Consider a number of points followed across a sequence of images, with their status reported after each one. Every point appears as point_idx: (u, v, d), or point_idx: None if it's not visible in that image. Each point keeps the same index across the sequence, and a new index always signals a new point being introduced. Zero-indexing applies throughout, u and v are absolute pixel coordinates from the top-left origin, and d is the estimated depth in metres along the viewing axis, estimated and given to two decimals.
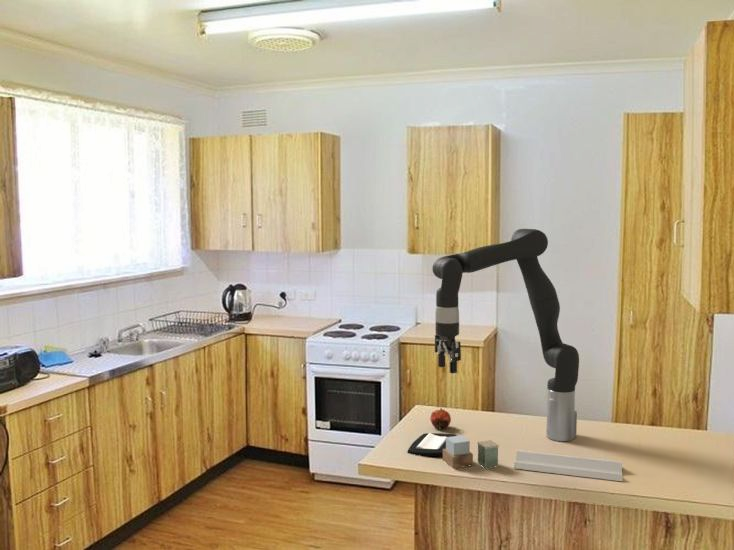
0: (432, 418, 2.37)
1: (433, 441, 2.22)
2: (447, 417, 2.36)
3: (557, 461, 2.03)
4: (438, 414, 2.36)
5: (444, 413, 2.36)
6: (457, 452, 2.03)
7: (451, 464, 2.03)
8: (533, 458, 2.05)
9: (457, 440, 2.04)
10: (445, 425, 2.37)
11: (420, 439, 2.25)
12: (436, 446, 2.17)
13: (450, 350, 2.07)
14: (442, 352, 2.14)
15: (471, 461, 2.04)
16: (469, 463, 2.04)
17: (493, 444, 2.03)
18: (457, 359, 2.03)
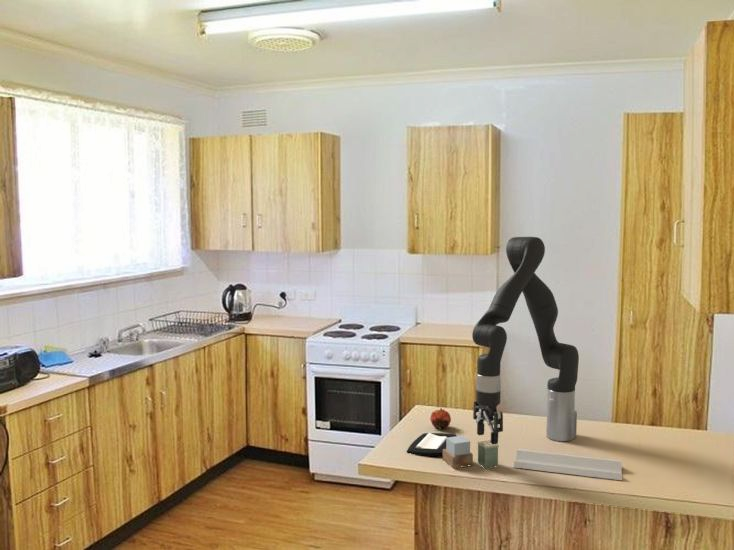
0: (432, 418, 2.37)
1: (433, 441, 2.22)
2: (447, 417, 2.36)
3: (557, 460, 2.04)
4: (438, 414, 2.36)
5: (444, 413, 2.36)
6: (458, 452, 2.03)
7: (451, 464, 2.03)
8: (533, 457, 2.06)
9: (457, 441, 2.04)
10: (445, 425, 2.37)
11: (420, 439, 2.25)
12: (435, 446, 2.17)
13: (491, 420, 2.00)
14: (481, 420, 2.07)
15: (471, 461, 2.04)
16: (469, 463, 2.04)
17: (494, 444, 2.03)
18: (499, 430, 1.96)
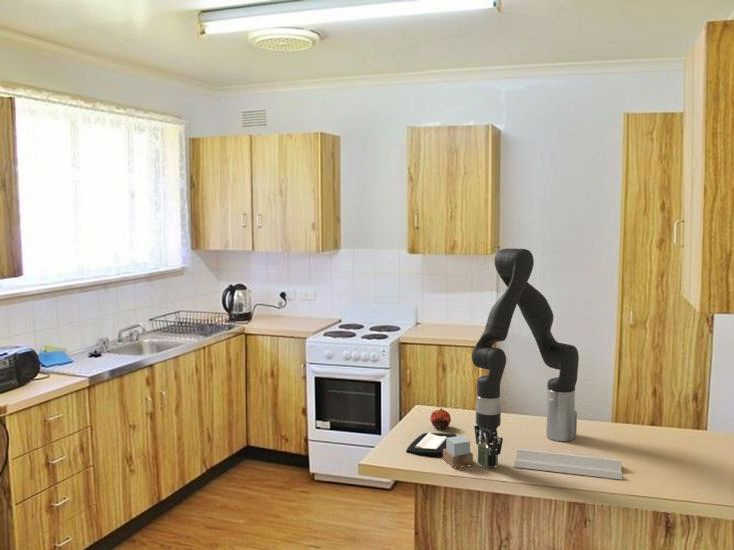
0: (432, 418, 2.37)
1: (432, 441, 2.22)
2: (447, 417, 2.36)
3: (557, 460, 2.04)
4: (438, 414, 2.36)
5: (444, 413, 2.36)
6: (458, 452, 2.03)
7: (451, 464, 2.03)
8: (533, 456, 2.07)
9: (457, 441, 2.04)
10: (445, 425, 2.37)
11: (419, 439, 2.25)
12: (435, 446, 2.17)
13: None
14: None
15: (471, 461, 2.04)
16: (469, 463, 2.04)
17: None
18: (496, 453, 1.99)
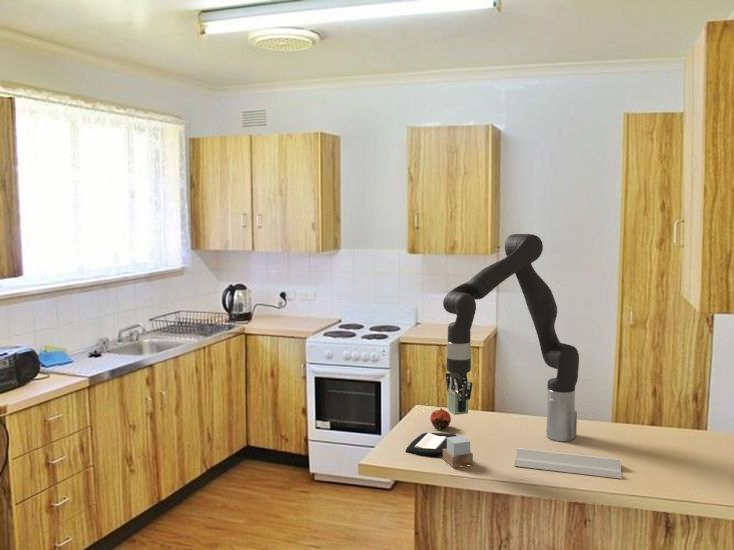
0: (432, 418, 2.37)
1: (432, 441, 2.22)
2: (447, 417, 2.36)
3: (557, 459, 2.05)
4: (438, 414, 2.36)
5: (444, 413, 2.36)
6: (458, 452, 2.03)
7: (451, 464, 2.03)
8: (533, 455, 2.07)
9: (457, 440, 2.04)
10: (445, 425, 2.37)
11: (419, 438, 2.25)
12: (434, 446, 2.17)
13: None
14: None
15: (471, 461, 2.04)
16: (469, 463, 2.04)
17: None
18: (466, 398, 1.99)
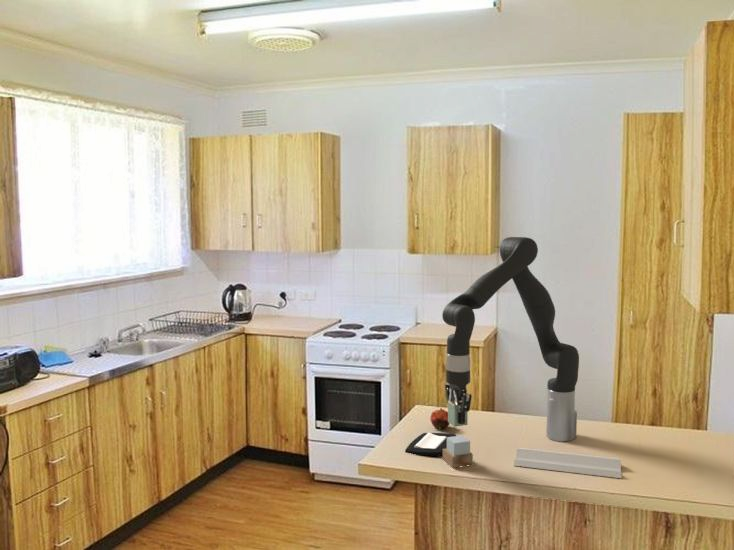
0: (432, 418, 2.37)
1: (432, 440, 2.22)
2: (447, 417, 2.36)
3: (557, 458, 2.05)
4: (438, 414, 2.36)
5: (444, 413, 2.36)
6: (458, 452, 2.03)
7: (451, 464, 2.03)
8: (533, 455, 2.08)
9: (457, 440, 2.04)
10: (445, 425, 2.37)
11: (419, 438, 2.25)
12: (434, 445, 2.17)
13: None
14: None
15: (471, 461, 2.04)
16: (469, 463, 2.04)
17: None
18: (466, 410, 1.99)
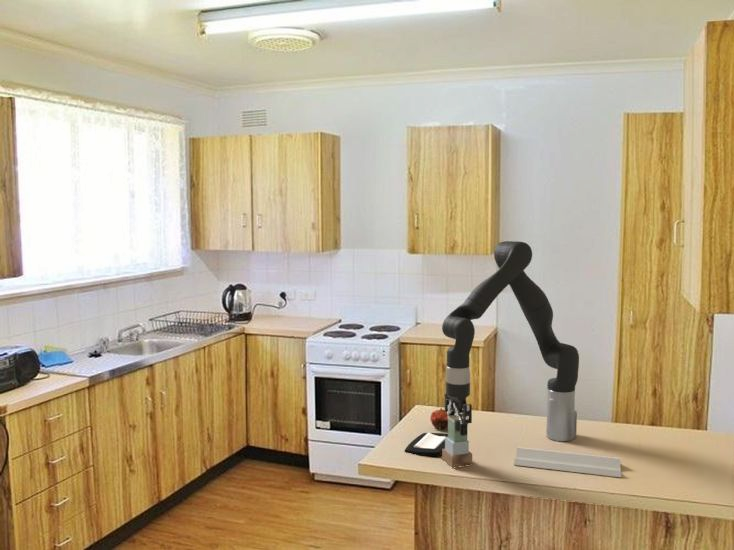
0: (432, 418, 2.37)
1: (431, 441, 2.22)
2: (447, 417, 2.36)
3: (557, 458, 2.06)
4: (438, 414, 2.36)
5: (444, 413, 2.36)
6: (456, 452, 2.03)
7: (450, 464, 2.03)
8: (533, 454, 2.08)
9: None
10: (445, 425, 2.37)
11: (419, 438, 2.26)
12: (433, 446, 2.17)
13: (461, 411, 2.02)
14: (452, 412, 2.09)
15: (470, 461, 2.04)
16: (468, 463, 2.04)
17: None
18: (468, 422, 1.98)
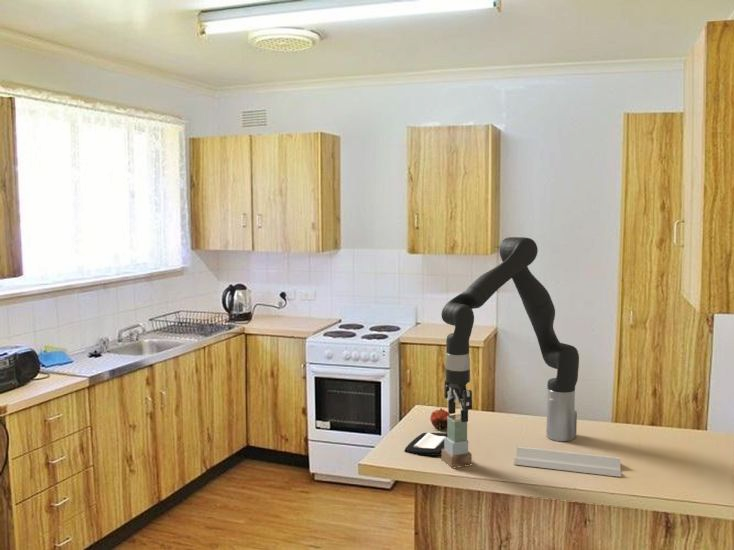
0: (432, 418, 2.37)
1: (431, 440, 2.23)
2: None
3: (557, 457, 2.06)
4: (438, 414, 2.36)
5: (444, 413, 2.36)
6: (456, 452, 2.03)
7: (450, 464, 2.03)
8: (533, 454, 2.08)
9: None
10: (445, 425, 2.37)
11: (418, 438, 2.26)
12: (433, 445, 2.18)
13: (461, 398, 2.02)
14: (452, 398, 2.08)
15: (470, 461, 2.04)
16: (468, 463, 2.04)
17: None
18: (468, 408, 1.98)
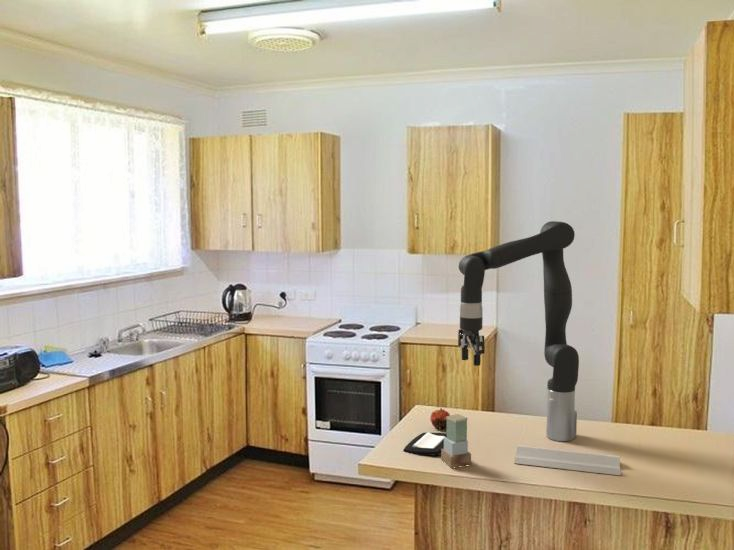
0: (432, 418, 2.37)
1: (430, 440, 2.23)
2: None
3: (557, 456, 2.07)
4: (438, 414, 2.36)
5: (444, 413, 2.36)
6: (456, 452, 2.03)
7: (449, 464, 2.03)
8: (533, 453, 2.09)
9: None
10: (445, 425, 2.37)
11: (418, 438, 2.26)
12: (432, 445, 2.18)
13: (474, 344, 2.17)
14: (465, 346, 2.24)
15: (469, 461, 2.04)
16: (467, 463, 2.04)
17: (462, 417, 2.05)
18: (481, 352, 2.13)
